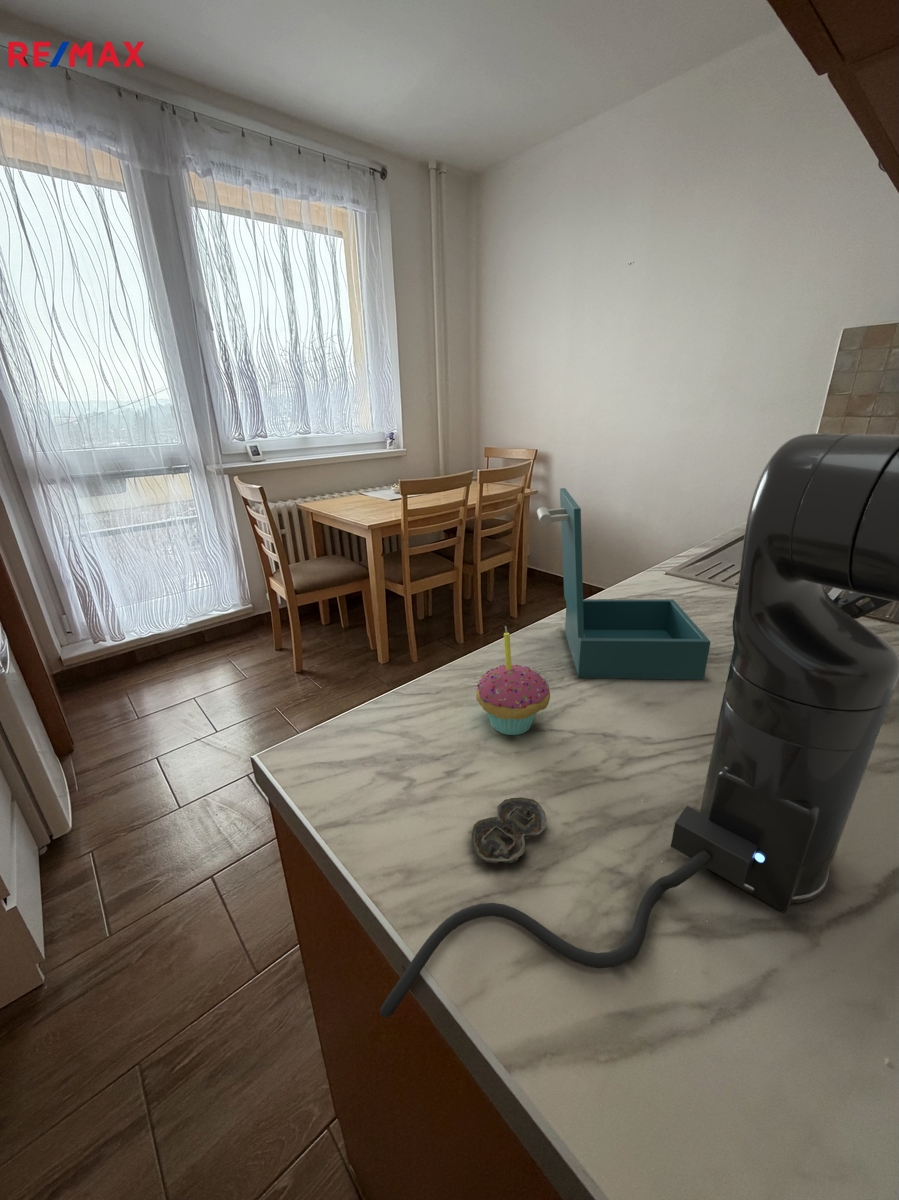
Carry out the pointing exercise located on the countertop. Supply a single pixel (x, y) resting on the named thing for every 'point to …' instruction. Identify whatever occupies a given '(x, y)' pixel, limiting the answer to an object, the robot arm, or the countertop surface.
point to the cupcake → (512, 695)
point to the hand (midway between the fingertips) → (785, 617)
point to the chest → (637, 640)
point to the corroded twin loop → (508, 830)
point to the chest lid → (569, 553)
